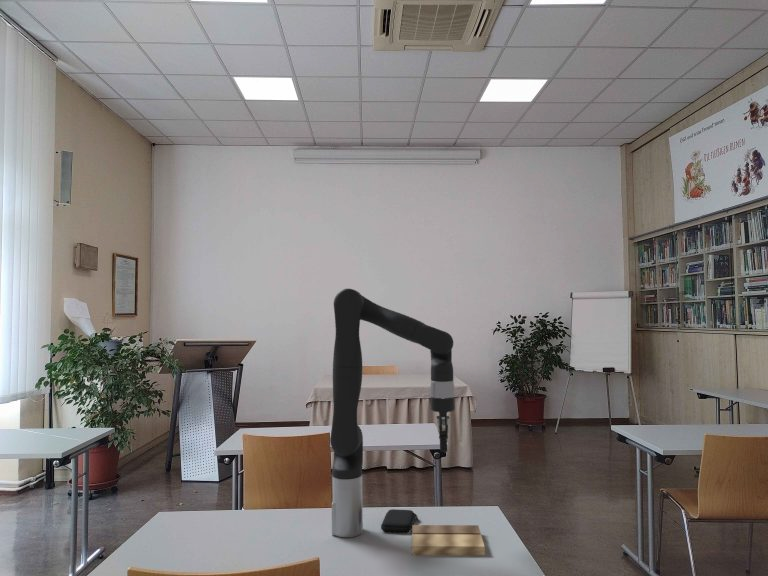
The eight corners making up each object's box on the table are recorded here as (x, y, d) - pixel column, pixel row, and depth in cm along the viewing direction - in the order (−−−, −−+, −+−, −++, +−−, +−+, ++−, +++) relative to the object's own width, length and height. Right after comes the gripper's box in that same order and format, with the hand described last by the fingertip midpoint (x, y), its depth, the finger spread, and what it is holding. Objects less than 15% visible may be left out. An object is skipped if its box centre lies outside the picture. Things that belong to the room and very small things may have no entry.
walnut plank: (412, 541, 159) (412, 532, 159) (412, 533, 165) (412, 525, 165) (480, 541, 158) (480, 533, 158) (478, 533, 164) (478, 525, 164)
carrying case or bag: (414, 535, 164) (419, 518, 179) (414, 525, 164) (419, 508, 179) (379, 534, 166) (387, 516, 180) (379, 524, 166) (387, 507, 180)
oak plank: (412, 554, 150) (412, 546, 150) (412, 542, 158) (412, 534, 158) (484, 555, 149) (484, 546, 149) (481, 542, 157) (481, 534, 157)
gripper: (430, 392, 175) (431, 446, 174) (430, 398, 162) (431, 457, 161) (453, 392, 174) (454, 446, 174) (455, 398, 161) (457, 457, 160)
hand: (443, 451), depth 167 cm, fingers closed
